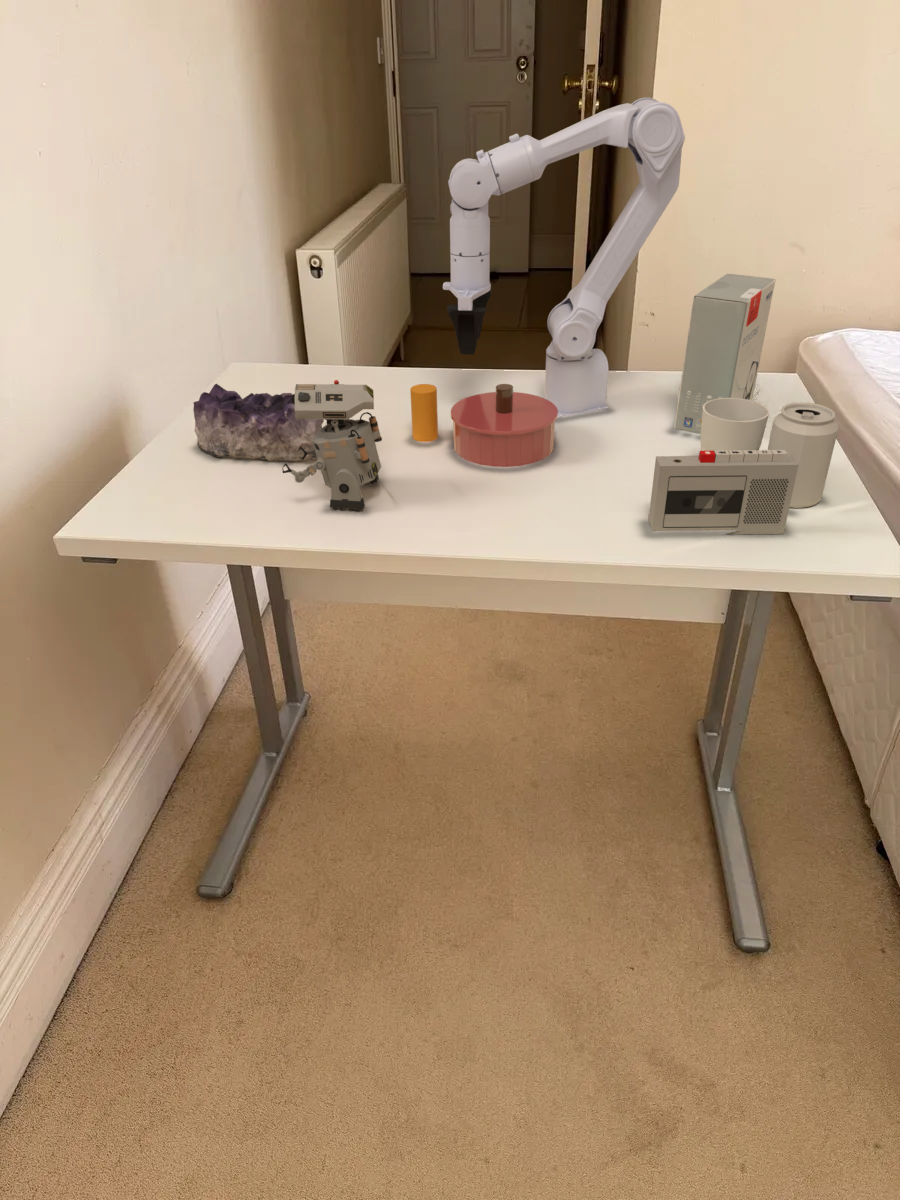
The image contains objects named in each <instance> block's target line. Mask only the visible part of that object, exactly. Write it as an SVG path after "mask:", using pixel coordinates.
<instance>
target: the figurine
mask: <svg viewBox="0 0 900 1200" xmlns="http://www.w3.org/2000/svg"><path fill="white" fill-rule="evenodd" d="M292 394H293V395H292V397H291V401H292V403H293V404H294V405H295V419H323V420H325V421H326V425H323V426H322V428H321V429H320V430H319V431H318V433H317V434H316V435H315V437H314V438H313V439H312V443H313V448H312V450H311V451H305V450H304V449H303V448H302V447H301V446H300V447H299V450H300V449H301V450H302V451H303V452H304V456H303V458H301V457H300V456H299V457H300V458H301V459H302V460H301V461H305V460H304V458H305V457H306V455H307V454H308V455H310V454H312V455H313V456H314V457H317V458H316V459H317V460H316V461H315V463H314V464H312V463H311V464H309V465H308V466H306V468H305V469H303V470H299V471H297V472H296V470H294V469H292V468H291V467H290V466H289V465H288V463H287V462H285V463H284V465H283V466H282V469H281V471H282V474H287V473H290V474H291V475H293V476H294V480H295V482H296V483H300V484H301V483H302V482H304V481H305V479H306V478H308V477H310V476H313V475H315V474H316V473H317V471H320V473H321V476H322V479H323V483H324V485H325V486H326V487H327V488H330V499H329V508H331V509H332V510H333V511H337V510H339V511H343V510H344V509H347V510H348V511H350V512H353V511H354V510H355V512H359V511H360V510H363V509H364V507H365V504H366V503H365V500H364V497H363V494H362V489H361V486H364V485H367V484H368V483H369V484H370V485H374V484H375V483H378V481H379V472H380V470H381V468H382V463H381V459H380V456H379V451H378V448H377V445H376V443H379V442H382V440H383V437H382V436H381V432H380V429H379V423H378V420H377V416H374V415H372V414H371V413H370V412H367V411H366V412H363V413H362V414H361V415H360V417H359V419H353V417H354V416H356V415H357V414H359V413H360V412H362V411H363V410H374V409H375V397H374V389H373V388H372V387H370V386H368V385H367V384H343V383H341V384H340V381H339V380H338V379H335V380H334V381H333V383H331V384H330V383H329V384H328V383H327V384H324V383H320V384H317V383H316V384H315V383H314V384H313V383H297V384H295V387H294V393H292ZM364 415H369V416H370V417H368V420H366V419H362V417H364ZM351 418H352V419H351ZM299 450H298V452H299ZM284 467H286V470H284Z"/></svg>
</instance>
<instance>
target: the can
mask: <svg viewBox="0 0 900 1200" xmlns="http://www.w3.org/2000/svg"><path fill="white" fill-rule="evenodd" d="M836 417H837V414H836V412H835V411H834V410H833V409H831V408H830V407H827V406H825V405H822V404H819V403H813V402H791V403H787V404H785V405H783V406H782V407H781V408H780V413H778V414H777V415H776V416H775V417H774V418H773V420H772V425H771V430H770V435H769V440H768V446H767V450H785V451H786V452H787V455H792V456H793V458H794V459H795V460H796V462H797V463H798V470H797V474H796V479H795V484H794V488H793V493H792V497H791V502H790V506H789V509H790V508H791V509H803V508H805V509H806V508H810V507H812V506H815V505H817V504H818V503H820V502H821V501H822V498H823V494H824V490H825V486H826V481H827V477H828V474H829V469H830V465H831V461H832V458H833V452H834V448H835V444H836V441H837V436H838V433H839V428H840V426H839V424H838V422H837V421H836V420H835V419H836Z"/></svg>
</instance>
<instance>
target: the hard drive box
mask: <svg viewBox="0 0 900 1200" xmlns="http://www.w3.org/2000/svg"><path fill="white" fill-rule="evenodd" d="M776 281H777V279H776V278H770V277H763V276H753V275H745V274H735V273H726V274H724V275H722V276H721V277H720V278H718V279H717V280H715V281H714V282H713V283H711V284H709V285H708V286H707V287H705V288H703V289H702V290H701V291H699V292H698V293H697V294H696V293H695V295H694V296H693V300H692V306H691V311H690V318H689V326H688V332H687V339H686V346H685V352H684V359H683V365H682V373H681V378H680V384H679V391H678V398H677V403H676V404H677V405H676V410H675V418H674V423H673V424H674V425H673V429H675V430H677V431H683V432H688V433H693V434H698V435H701V425H702V413H703V405H704V404H705V403H706V402H708V401H711V400H714V399H719V398H740V399H747V400H751V401H754V400H753V399H754V393H755V389H756V385H757V378H758V374H759V368H760V363H761V357H762V352H763V346H764V341H765V337H766V331H767V326H768V320H769V315H770V310H771V305H772V299H773V295H774V290H775V285H776Z"/></svg>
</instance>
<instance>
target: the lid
mask: <svg viewBox="0 0 900 1200" xmlns="http://www.w3.org/2000/svg"><path fill="white" fill-rule="evenodd" d="M450 418H451V420H452V422H453V421H454V422H455V423H456V424H457V425H459V426H461V427H463V428H465V429H467V430H471V431H474V432H479V433H484V434H493V435H515V434H524V433H530V432H534V431H538V430H541V429H543V428H546V427H548V426H550V425H551V424H552V423H554V422H555V423H556V421H557V419H558V418H559V417H558V409H557V407H556V406H555V405H554V404H553V403H552V402H550V401H549V400H547V399H545V398H544V397H542V396H540V395H535V394H531V393H526V392H520V391H519V392H517V391H514V386H513V385H512V384H509V383H499V384H497V385H495V391H491V392H483V393H479V394H474V395H469V396H467V397H465V398H462V399H460V400H458V401H456V402H455V403H454V404H453V406H452V407H450Z"/></svg>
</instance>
